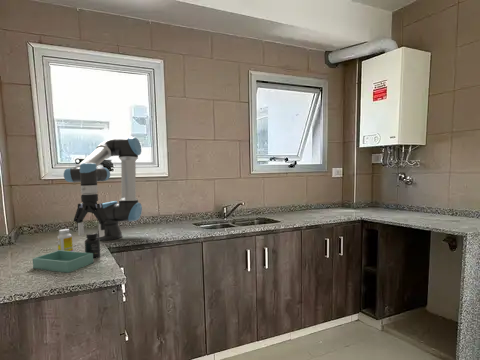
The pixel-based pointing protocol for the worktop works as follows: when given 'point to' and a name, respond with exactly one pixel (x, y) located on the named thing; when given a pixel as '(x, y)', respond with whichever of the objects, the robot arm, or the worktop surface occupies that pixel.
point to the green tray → (63, 261)
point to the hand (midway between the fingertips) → (91, 236)
